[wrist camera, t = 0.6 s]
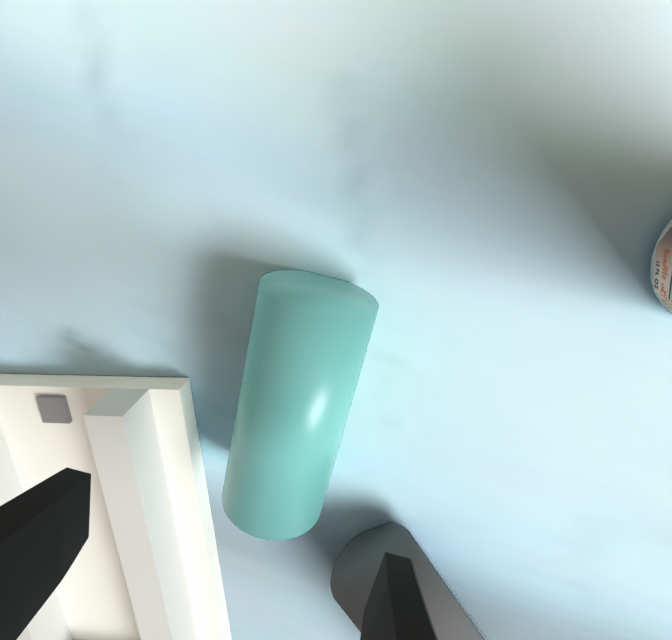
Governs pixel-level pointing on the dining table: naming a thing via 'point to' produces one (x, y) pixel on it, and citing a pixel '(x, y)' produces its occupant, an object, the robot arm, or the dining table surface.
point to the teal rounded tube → (294, 400)
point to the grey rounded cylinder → (361, 570)
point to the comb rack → (120, 504)
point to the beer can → (663, 268)
